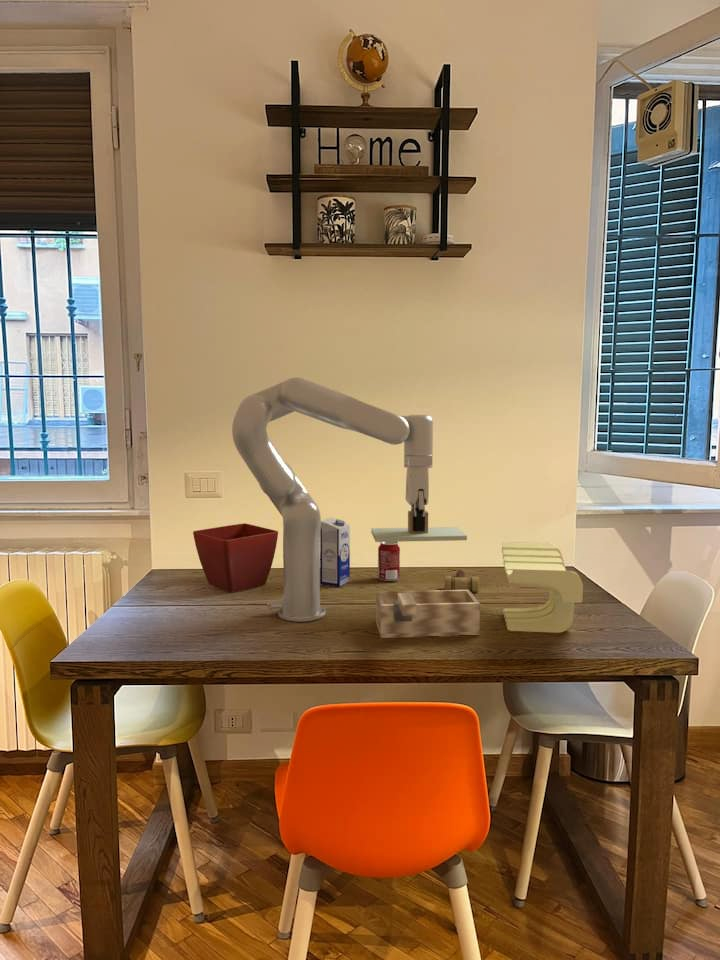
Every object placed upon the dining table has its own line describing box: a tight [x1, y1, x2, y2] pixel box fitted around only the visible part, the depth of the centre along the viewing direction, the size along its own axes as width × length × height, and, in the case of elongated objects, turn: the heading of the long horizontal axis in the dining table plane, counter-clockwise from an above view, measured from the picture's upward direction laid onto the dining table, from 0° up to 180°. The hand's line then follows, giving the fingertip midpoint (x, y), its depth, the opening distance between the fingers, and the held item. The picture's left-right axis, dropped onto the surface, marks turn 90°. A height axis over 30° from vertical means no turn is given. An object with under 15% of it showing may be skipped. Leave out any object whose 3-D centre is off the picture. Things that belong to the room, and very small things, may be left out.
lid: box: [370, 510, 468, 543], centre depth 190 cm, size 24×12×7 cm, turn 94°
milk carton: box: [320, 517, 351, 588], centre depth 217 cm, size 7×7×20 cm
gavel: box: [443, 569, 480, 593], centre depth 219 cm, size 21×5×10 cm
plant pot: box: [192, 522, 279, 593], centre depth 214 cm, size 19×19×17 cm
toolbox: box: [375, 589, 481, 639], centre depth 175 cm, size 24×15×9 cm, turn 94°
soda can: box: [377, 542, 401, 582], centre depth 221 cm, size 7×7×12 cm
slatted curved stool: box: [501, 541, 584, 634], centre depth 180 cm, size 30×16×18 cm, turn 174°
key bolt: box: [398, 593, 416, 616], centre depth 161 cm, size 3×9×2 cm, turn 4°
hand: (417, 529), depth 190 cm, fingers closed on lid, 3 cm apart
